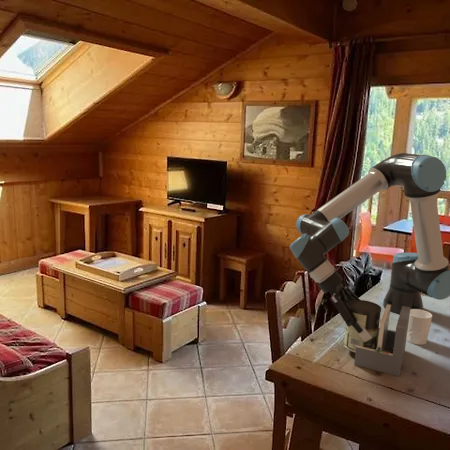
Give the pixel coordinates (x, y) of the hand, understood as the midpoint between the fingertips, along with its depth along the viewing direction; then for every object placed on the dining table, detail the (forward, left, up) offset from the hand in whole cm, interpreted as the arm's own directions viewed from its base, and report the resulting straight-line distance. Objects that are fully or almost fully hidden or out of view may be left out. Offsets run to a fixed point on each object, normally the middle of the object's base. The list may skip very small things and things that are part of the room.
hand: (371, 333), depth 145 cm
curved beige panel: (-4, +1, -6) cm, 8 cm away
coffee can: (+3, 0, -6) cm, 6 cm away
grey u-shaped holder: (-3, 0, -7) cm, 8 cm away
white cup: (-13, -19, -8) cm, 24 cm away
